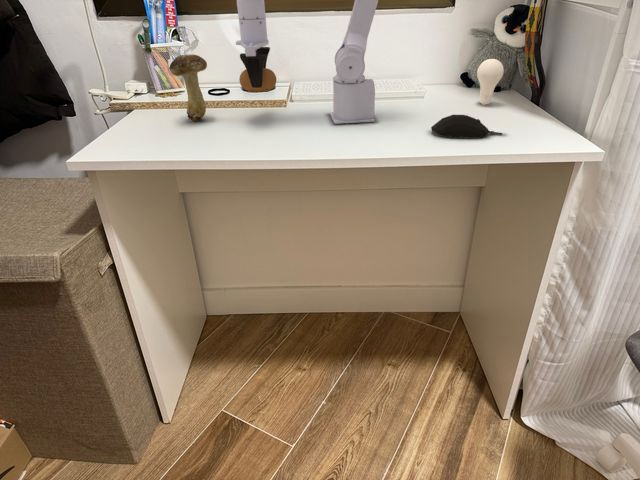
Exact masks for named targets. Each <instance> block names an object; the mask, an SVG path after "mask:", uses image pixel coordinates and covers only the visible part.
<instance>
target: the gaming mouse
mask: <svg viewBox="0 0 640 480" xmlns="http://www.w3.org/2000/svg"><path fill="white" fill-rule="evenodd" d="M430 128H431V132H432V133H434V134H436V135H438V136H440V137H443V138H450V139H451V138H452V139H453V138H457V139H458V138H459V139H462V138H463V139H464V138H465V139H470V138H471V139H479V138H484V137H486V136H487V135H488V134H490V135H500V136H502V135H503V132H497V131H494V130H489V128H488V127H487V126H486V125H484V124H483V122H481V120H480V118H475V117H473V116H470V115H467V114H451V115H447V116H444V117H442V118H441V119H439V120H438V121H437V122H436V123H434V124H433V125H432V126H431V127H430Z"/></svg>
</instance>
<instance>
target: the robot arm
mask: <svg viewBox="0 0 640 480" xmlns="http://www.w3.org/2000/svg"><path fill="white" fill-rule="evenodd" d="M378 3H379V0H354V3H353V7H352V11H351V14H350V18H349V22H348V26H347V28H346V29H347V30H346V33H345V35H344V37H343V40H342V44H341V46H340V47H339V48H338V49H337V51H336V52H335V55H334V65H335V72H336V74H335V75H334V76H333V78H332V80H333V81H332V82H333V83H332V84H333V85H332V86H333V87H332V88H333V89H332V94H333V97H332V98H333V99H332V100H333V101H332V102H333V106H332V107H333V108H332V109H333V110H332V111H330V112H329V116H330V117H331V119H332V120H331V121H332V122H333V124H334V125H341V124H355V123H356V124H357V123H373V122H375V105H376V104H375V101H376V87H375V81H374V79H372V78H366V77H365V75H364V74H365V71H366V63H365V54H366V51H367V44H368V38H369V34H370V31H371V27H372V24H373V21H374V17H375V14H376V10H377V6H378ZM265 5H266V4H265V0H236V7H237V15H238V16H237V17H238V26H239V33H240V40H239V39H238V40H236V41H235V45H236V46H241V47H242V48H243V49H244V53H243V52H242V53H240V54H239V58H240V61H241V62H242V64H243V66H244V68H245V70H247V73H248V76H249V79H250V83H251V85H252V88H261V87H262V81H263V68H267V61H268V56H269V53H270V51H271V46H268V45H269V44H270V43H269V42H270V41H269V39H268V30H267V18H266V17H267V15H266V6H265Z"/></svg>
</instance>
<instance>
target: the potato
mask: <svg viewBox="0 0 640 480" xmlns="http://www.w3.org/2000/svg"><path fill="white" fill-rule="evenodd" d="M239 85H240V86H241V88H243V90H244V91H247V93H269V92H270V91H271V90H273V89H274V88H275V87H276V85H277V75H276V73H275V72H274V71H273V69H270V68H267V67H266V68H263V81H262V87H261V88H252V85H251V83H250V79H249V76H248V73H247V70H246V69H244V70H243V71H241V73H240V75H239Z"/></svg>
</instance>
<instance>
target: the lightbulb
mask: <svg viewBox="0 0 640 480" xmlns="http://www.w3.org/2000/svg"><path fill="white" fill-rule="evenodd" d="M504 70H505V69H504V65H503V63H502V62H501V61H500V60H498V59H496V58H488V59H485V60H484V61H482V62H481V63H480V65H479V66H478V67H477V71H476V72H477V73H476V77H477V80H478V83H479V103H481V105H483V106H486V105H488V104H490V103H491V100H492V96H493V95H494V91H495V88H496V87H497V85H498V83H499V82H500V81H501V79H502V78H503V76H504V72H505V71H504Z"/></svg>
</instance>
